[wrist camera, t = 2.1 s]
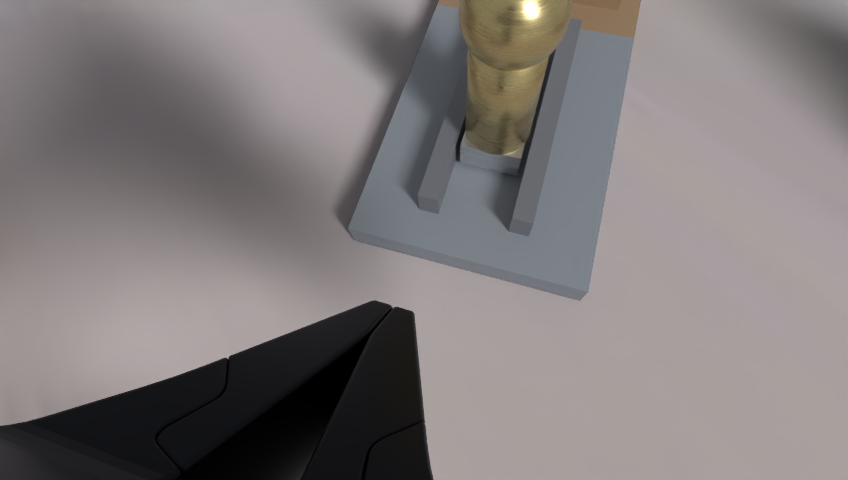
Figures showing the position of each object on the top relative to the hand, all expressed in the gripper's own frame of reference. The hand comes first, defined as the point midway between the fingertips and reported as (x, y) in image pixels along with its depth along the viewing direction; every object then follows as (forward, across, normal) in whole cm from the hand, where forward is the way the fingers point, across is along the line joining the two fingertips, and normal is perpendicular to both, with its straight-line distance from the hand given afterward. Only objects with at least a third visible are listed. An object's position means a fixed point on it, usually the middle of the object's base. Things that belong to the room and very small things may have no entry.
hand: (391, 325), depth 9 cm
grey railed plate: (+21, 0, -2) cm, 21 cm away
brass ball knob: (+19, 0, -3) cm, 19 cm away
